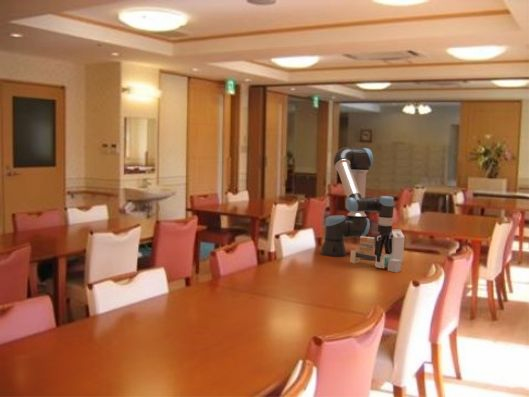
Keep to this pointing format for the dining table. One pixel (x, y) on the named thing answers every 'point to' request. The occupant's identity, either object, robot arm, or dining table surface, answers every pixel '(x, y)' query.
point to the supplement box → (366, 246)
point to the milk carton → (397, 244)
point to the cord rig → (393, 264)
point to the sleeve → (383, 260)
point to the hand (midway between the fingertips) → (382, 266)
